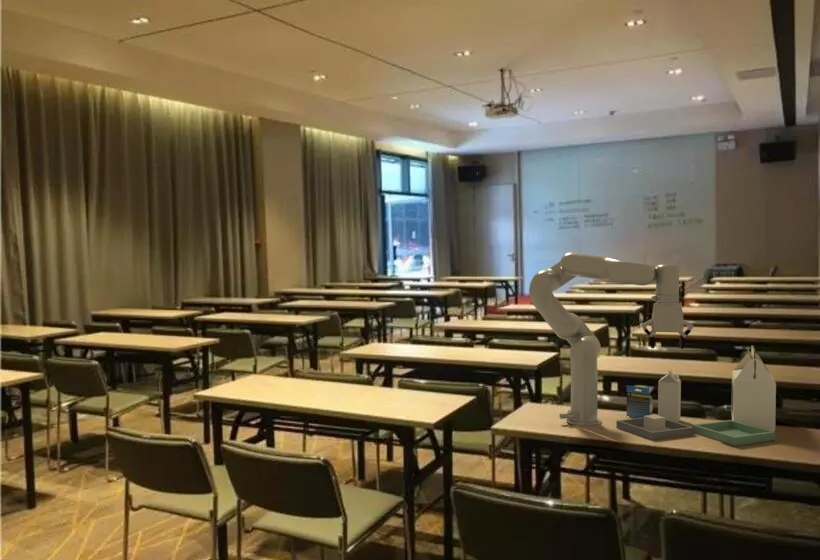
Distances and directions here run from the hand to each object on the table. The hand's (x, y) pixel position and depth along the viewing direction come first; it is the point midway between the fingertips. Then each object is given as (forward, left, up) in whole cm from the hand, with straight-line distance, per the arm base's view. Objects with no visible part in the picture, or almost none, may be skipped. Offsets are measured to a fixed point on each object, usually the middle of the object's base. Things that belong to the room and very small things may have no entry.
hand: (666, 348), depth 237 cm
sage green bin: (+14, -16, -29) cm, 36 cm away
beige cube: (-6, -1, -29) cm, 29 cm away
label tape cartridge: (+4, +18, -29) cm, 35 cm away
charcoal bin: (-6, -1, -29) cm, 30 cm away
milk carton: (+11, +10, -29) cm, 33 cm away
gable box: (+36, -5, -29) cm, 47 cm away
